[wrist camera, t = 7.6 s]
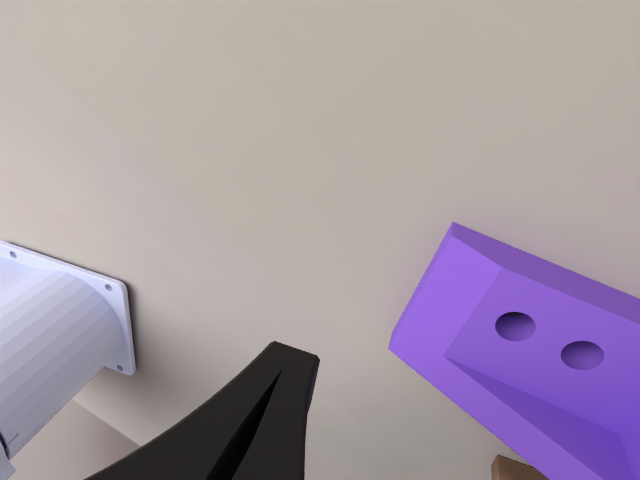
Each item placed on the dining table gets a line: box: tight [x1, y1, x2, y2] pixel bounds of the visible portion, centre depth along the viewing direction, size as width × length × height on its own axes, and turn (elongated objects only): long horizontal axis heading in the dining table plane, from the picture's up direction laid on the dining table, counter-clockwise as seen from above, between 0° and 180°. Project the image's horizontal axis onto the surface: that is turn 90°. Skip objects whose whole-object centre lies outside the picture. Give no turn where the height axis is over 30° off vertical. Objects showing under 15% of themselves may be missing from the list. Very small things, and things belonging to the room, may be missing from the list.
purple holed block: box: [388, 222, 640, 480], centre depth 17 cm, size 12×7×7 cm, turn 73°
